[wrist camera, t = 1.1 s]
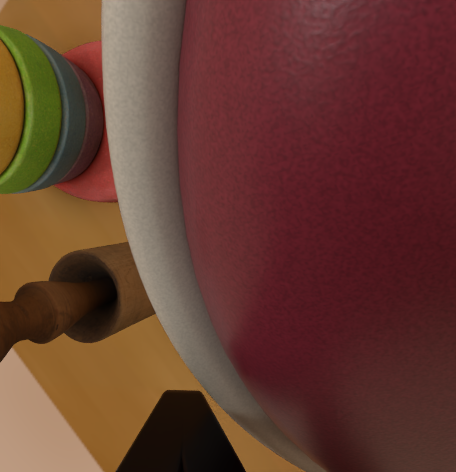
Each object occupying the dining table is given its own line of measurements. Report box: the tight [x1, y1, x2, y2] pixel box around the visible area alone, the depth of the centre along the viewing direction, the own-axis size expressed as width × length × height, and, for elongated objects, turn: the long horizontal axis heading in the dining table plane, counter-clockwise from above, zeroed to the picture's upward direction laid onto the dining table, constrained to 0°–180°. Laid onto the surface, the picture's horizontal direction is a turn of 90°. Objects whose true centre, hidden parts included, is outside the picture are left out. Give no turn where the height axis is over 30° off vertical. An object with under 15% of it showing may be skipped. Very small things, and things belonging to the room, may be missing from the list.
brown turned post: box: [0, 242, 156, 362], centre depth 19 cm, size 7×6×18 cm
